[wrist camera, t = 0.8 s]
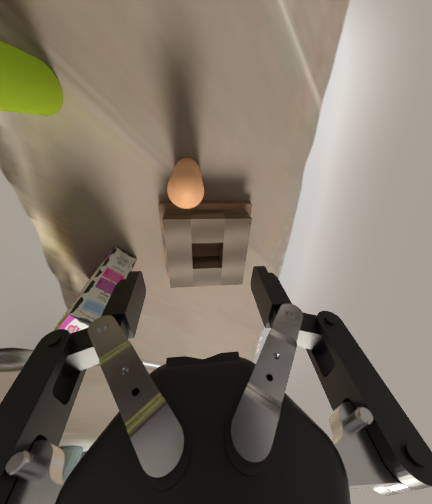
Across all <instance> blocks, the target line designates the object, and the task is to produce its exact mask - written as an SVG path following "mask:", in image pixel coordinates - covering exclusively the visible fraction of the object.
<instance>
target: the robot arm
mask: <svg viewBox="0 0 432 504" xmlns="http://www.w3.org/2000/svg"><path fill="white" fill-rule="evenodd" d="M251 290H252V293H253V295H254V298H255V301H256V304H257V307H258V309H259V312H260V315H261V318H262V321H263V323H264V326H265V328H271V330H270V332H269V334H268V336H267V339H266V341H265V344H264V346H263V348H262V351H261V353H260V356H259V358H258V360H257V363H256V364H254V363H253V362H251V361H249V360H247V359H245V358H241V357H239V353H238V352H228V353H220V354H217V355H215V356H212V357H209V358H207V359H197V358H191V357H185V356H184V357H173V358H167V361H166V364H165V365H162V366H160V367H158V368H157V369H155V370H154V371H153V372H152V373H150V374H149V373H148V371H147V370H146V368H145V366H144V365H143V363H142V361H141V360H140V358H139V356H138V355H137V353H136V351H135V350H134V348H133V346H132V344H131V343H130V342H129V341H128V338H134V336H135V333H136V329H137V325H138V321H139V318H140V314H141V310H142V306H143V302H144V299H145V294H146V288H145V283H144V279H143V275H142V272H141V271H132V272H129V273H128V275H127V278H126V279H121V280H120V281H119V282H118V283H117V284H116V285H115V287H114V289H113V292H112V294H111V296H110V298H109V300H108V302H107V304H106V307H105V309H104V311H103V313H102V315H101V317H99V318H97V319H96V320H94V321H93V322H92V323H91V324H90V325H89V327H88V328H86V329H83V330H80V331H77V332H73V333H70V332H69V331H68V330H65V329H59V330H55V331H53V332H51V333H49V334H47V335H46V336H45V337H43V338H42V339H41V341H40V342H39V343H38V345H37V346H36V348H35V349H34V351H33V353H32V354H31V356H30V357H29V359H28V361H27V362H26V364H25V365H24V367H23V369H22V370H21V372H20V373H19V375H18V377H17V378H16V380H15V381H14V383H13V385H12V386H11V388H10V389H9V391H8V393H7V394H6V396H5V397H4V399H3V401H2V402H1V404H0V504H351V503H350V492H349V489H357V488H370V487H372V488H373V489H374V490H375V491H376V492H378V493H380V494H382V495H393V494H398V493H403V492H407V491H412V490H417V489H422V488H427V487H431V486H432V452H431V450H430V449H429V447H428V446H427V444H426V443H425V442H424V440H423V439H422V437H421V436H420V434H419V433H418V431H417V430H416V428H415V427H414V425H413V424H412V423H411V421H410V420H409V418H408V417H407V415H406V414H405V412H404V411H403V410H402V408H401V407H400V405H399V404H398V402H397V401H396V399H395V398H394V396H393V395H392V393H391V392H390V390H389V389H388V388H387V386H386V385H385V383H384V382H383V380H382V379H381V377H380V376H379V374H378V373H377V372H376V370H375V369H374V367H373V366H372V364H371V363H370V361H369V360H368V358H367V357H366V355H365V354H364V352H363V351H362V350H361V348H360V347H359V346H358V344H357V342H356V341H355V339H354V338H353V336H352V335H351V334H350V332H349V331H348V329H347V328H346V326H345V325H344V323H343V322H342V320H341V319H340V318H339V317H338V316H337V315H335V314H333V313H331V312H328V311H322V312H319V313H318V315H317V316H316V315H311V314H306V313H303V312H302V311H301V310H300V309H299V308H298V307H297V306H295V305H293V304H292V303H291V301H290V300H289V298H288V296H287V294H286V292H285V291H284V289H283V288H282V285H281V284H280V281H279V280H278V278H277V277H276V276H275V275H274V274H273V273H268V271H267V270H266V268H265V266H254V268H253V273H252V278H251ZM297 346H298V347H302V348H306V350H307V352H308V355H309V357H310V359H311V361H312V364H313V366H314V368H315V370H316V373H317V375H318V377H319V380H320V382H321V384H322V386H323V389H324V391H325V393H326V395H327V398H328V400H329V402H330V404H331V407H332V409H333V412H332V414H331V416H330V425H331V429H332V433H333V442H332V441H331V439H330V438H329V437H328V436H327V434H326V433H325V432H324V431H323V430H322V429H321V428H320V427H319V426H318V425H317V424H316V423H315V422H314V421H313V420H312V419H311V418H310V417H309V416H308V415H307V414H306V413H304V411H303V410H302V409H301V408H299V406H298V405H297V404H296V403H295V402H294V401H293V400H292V399H291V398H290V397H289V396H287V394H286V393H285V390H286V386H287V382H288V378H289V374H290V370H291V367H292V362H293V359H294V355H295V351H296V347H297ZM96 364H100V366H101V368H102V371H103V373H104V376H105V378H106V380H107V383H108V385H109V387H110V390H111V392H112V395H113V397H114V399H115V402H116V404H117V406H118V409H119V412H118V413H117V415H116V416H115V417H114V418H113V420H112V421H111V422H110V423H109V425H108V426H107V427H106V428H105V430H104V431H103V432H102V433H101V435H100V436H99V437H98V438H97V440H96V441H95V442H94V443H93V445H92V446H91V447H90V448H89V450H88V451H87V452H86V453H85V455H84V456H83V457H82V459H81V460H80V461H79V462H78V463H77V465H76V466H75V467H74V468H73V470H72V471H71V473H70V474H69V476H68V477H67V479H66V481H65V482H64V483H63V479H62V470H63V466H64V459H65V457H64V452H63V450H62V449H61V448H59V447H58V445H59V442H60V440H61V437H62V434H63V432H64V429H65V426H66V423H67V421H68V418H69V415H70V412H71V410H72V407H73V404H74V401H75V399H76V396H77V393H78V391H79V388H80V385H81V382H82V380H83V377H84V374H85V371H86V369H87V368H89V367H91V366H94V365H96Z"/></svg>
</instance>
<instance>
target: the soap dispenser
mask: <svg viewBox="0 0 432 504" xmlns="http://www.w3.org/2000/svg"><path fill="white" fill-rule="evenodd" d="M62 102H63V93H62V89H61V86H60V83H59V81H58V79H57V77H56V76H55V74H54V73H53V71H52V70H51V69H50V68H49V67H48V66H47V65H46V64H45V63H44V62H43V61H41V60H40V59H38V58H37V57H35V56H33V55H30V54H28V53H26V52H24V51H22V50H20V49H18V48H16V47H13V46H11V45H9V44H7V43H5V42H3V41H1V40H0V111H7V112H17V113H27V114H37V115H53V114H55V113H56V112H58V111H59V109H60V108H61V106H62Z"/></svg>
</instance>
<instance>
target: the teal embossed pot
mask: <svg viewBox="0 0 432 504" xmlns="http://www.w3.org/2000/svg"><path fill="white" fill-rule="evenodd" d="M82 451H83V447H81V446H67V447H65V448H63V452H64V457H65V459H64V466H63V470H62V479H63V483H64V482H65V481H66V479H67V477H68V476H69V474H70V473H71V471H72V470H73V468H74V467H75V466H76V465H77V463H78V462H79V459H80V457H81V454H82Z"/></svg>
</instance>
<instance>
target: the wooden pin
mask: <svg viewBox="0 0 432 504" xmlns="http://www.w3.org/2000/svg"><path fill="white" fill-rule="evenodd" d="M167 193H168V196H169V198H170V200H171V201H172V202H173V204H175V205H176V206H178V207H180V208H184V209H189V208H193V207H195V206H197V205H198V204H199V203H200V202H201V201H202V199H203V196H204V186H203V182H202V177H201V173H200V168H199V165H198V164H197V162H196V161H195V160H193V159H191V158H182V159H180V160H179V161H178V162H177V164H176V166H175V168H174V171H173V173H172V175H171V177H170V180H169V182H168V185H167Z"/></svg>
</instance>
